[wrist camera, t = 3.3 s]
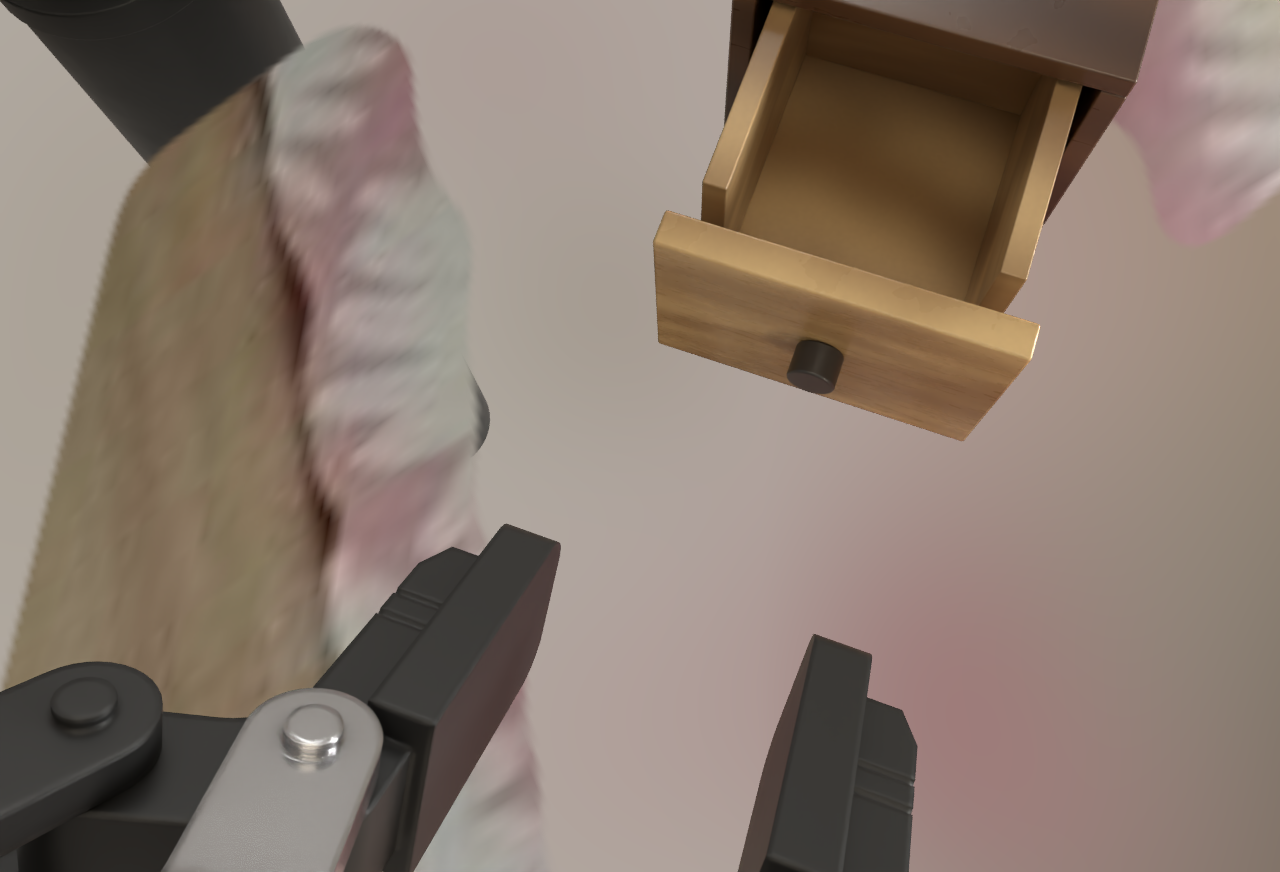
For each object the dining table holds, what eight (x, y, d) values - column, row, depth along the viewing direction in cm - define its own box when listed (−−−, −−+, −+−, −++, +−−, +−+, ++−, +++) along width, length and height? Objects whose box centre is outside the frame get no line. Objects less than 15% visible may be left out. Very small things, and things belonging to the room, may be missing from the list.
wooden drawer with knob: (954, 473, 38) (1021, 398, 30) (646, 372, 39) (638, 277, 32) (1055, 126, 42) (1136, -15, 34) (772, 47, 43) (791, -106, 36)
